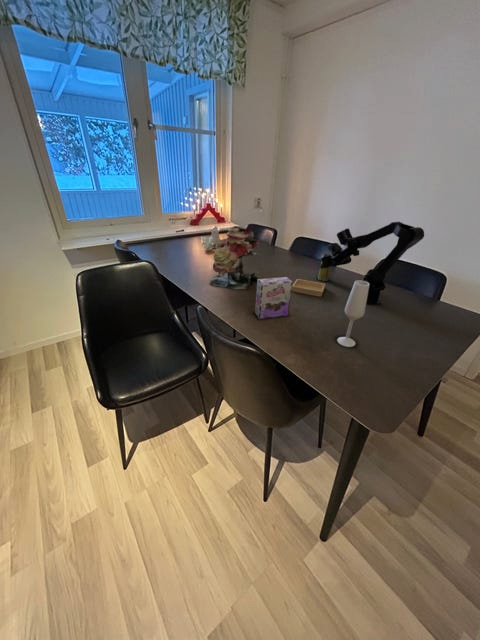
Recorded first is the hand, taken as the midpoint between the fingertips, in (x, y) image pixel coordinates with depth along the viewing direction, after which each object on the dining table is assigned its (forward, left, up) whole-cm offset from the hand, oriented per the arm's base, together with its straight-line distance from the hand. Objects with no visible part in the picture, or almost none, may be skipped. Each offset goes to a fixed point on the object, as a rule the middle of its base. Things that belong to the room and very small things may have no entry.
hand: (326, 266), depth 155 cm
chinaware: (+69, +67, -8) cm, 96 cm away
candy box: (-41, +39, -8) cm, 57 cm away
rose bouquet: (-2, +54, -8) cm, 54 cm away
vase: (+1, 0, -8) cm, 8 cm away
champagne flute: (-63, +14, -8) cm, 65 cm away
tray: (-14, +14, -8) cm, 22 cm away
